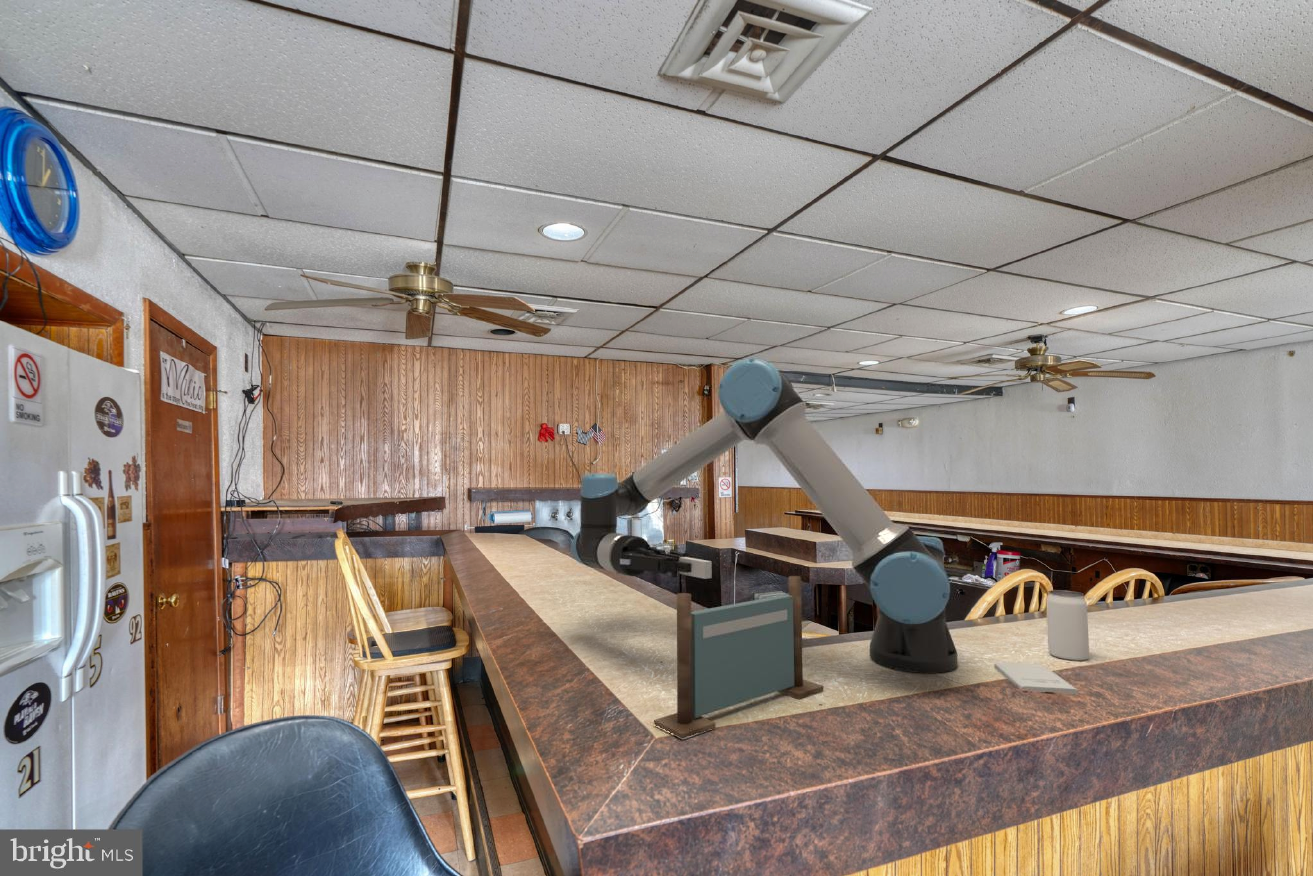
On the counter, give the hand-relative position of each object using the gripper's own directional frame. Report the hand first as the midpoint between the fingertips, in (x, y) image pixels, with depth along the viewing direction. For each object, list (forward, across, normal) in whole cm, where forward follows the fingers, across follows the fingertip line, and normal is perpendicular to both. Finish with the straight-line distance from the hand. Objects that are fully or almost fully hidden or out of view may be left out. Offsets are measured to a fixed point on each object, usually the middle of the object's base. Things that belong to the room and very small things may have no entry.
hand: (708, 570), depth 99 cm
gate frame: (+9, +1, -19) cm, 21 cm away
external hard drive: (+31, -46, -19) cm, 59 cm away
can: (+29, -66, -19) cm, 75 cm away
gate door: (+9, +1, -18) cm, 20 cm away
